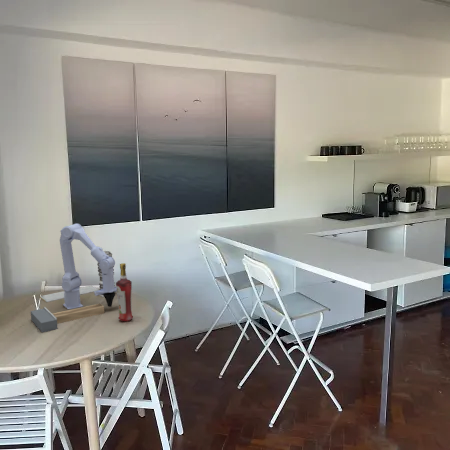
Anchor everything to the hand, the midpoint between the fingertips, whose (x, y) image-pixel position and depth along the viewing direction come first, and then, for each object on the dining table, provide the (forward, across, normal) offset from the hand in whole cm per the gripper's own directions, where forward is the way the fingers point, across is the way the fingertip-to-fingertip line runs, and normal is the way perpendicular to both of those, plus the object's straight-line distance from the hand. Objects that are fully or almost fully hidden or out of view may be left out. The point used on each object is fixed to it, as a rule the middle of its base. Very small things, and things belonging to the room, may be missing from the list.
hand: (109, 306), depth 244 cm
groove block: (+2, -33, 0) cm, 33 cm away
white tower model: (+2, +8, +25) cm, 26 cm away
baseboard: (+3, -8, +39) cm, 40 cm away
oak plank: (+2, -18, 0) cm, 18 cm away
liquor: (+2, 0, -19) cm, 19 cm away
